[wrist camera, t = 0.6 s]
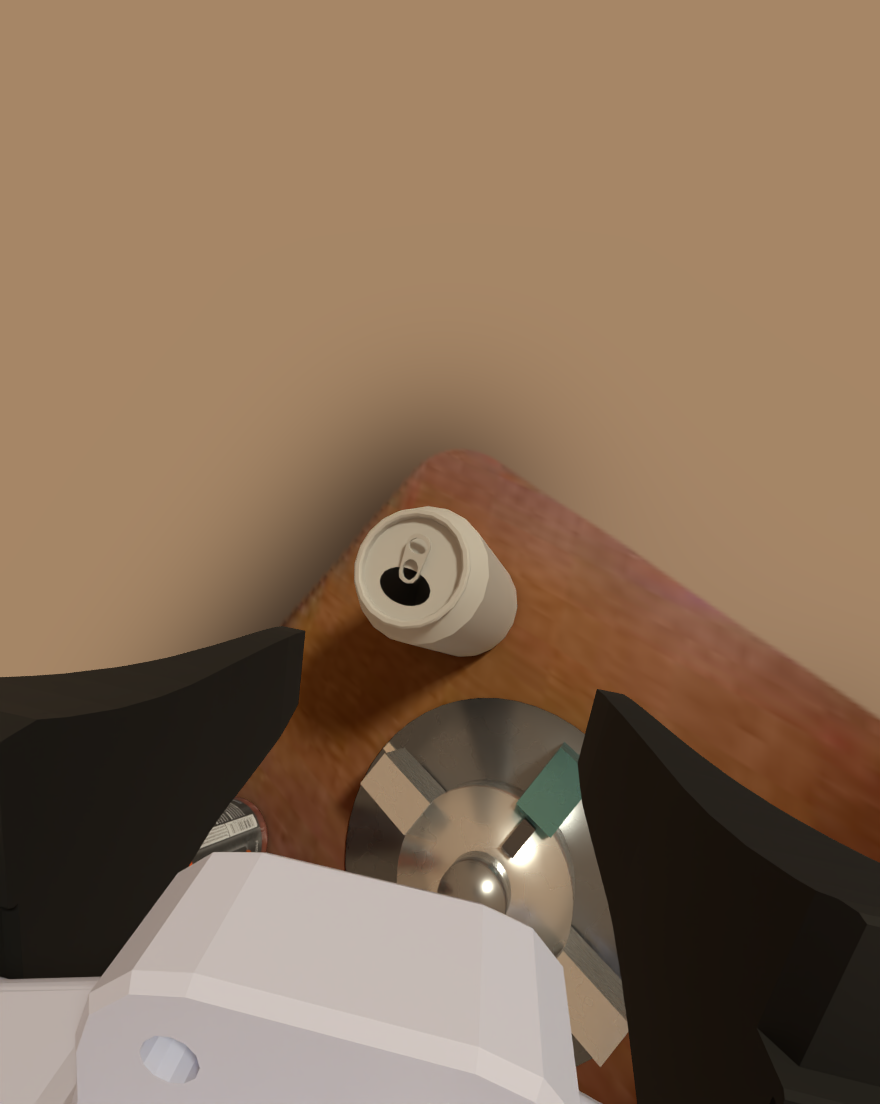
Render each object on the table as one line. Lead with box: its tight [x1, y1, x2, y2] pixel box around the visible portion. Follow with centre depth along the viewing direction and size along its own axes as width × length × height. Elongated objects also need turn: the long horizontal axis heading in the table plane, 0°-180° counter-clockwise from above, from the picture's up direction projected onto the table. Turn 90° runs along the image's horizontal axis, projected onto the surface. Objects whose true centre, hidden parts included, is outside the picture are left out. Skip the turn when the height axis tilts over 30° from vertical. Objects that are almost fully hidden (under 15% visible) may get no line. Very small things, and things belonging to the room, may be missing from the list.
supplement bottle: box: [189, 797, 268, 866], centre depth 30 cm, size 6×6×11 cm
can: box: [354, 506, 517, 657], centre depth 29 cm, size 8×8×12 cm
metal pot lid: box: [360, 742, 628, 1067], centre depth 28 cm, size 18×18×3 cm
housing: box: [346, 698, 621, 1066], centre depth 27 cm, size 20×20×6 cm
